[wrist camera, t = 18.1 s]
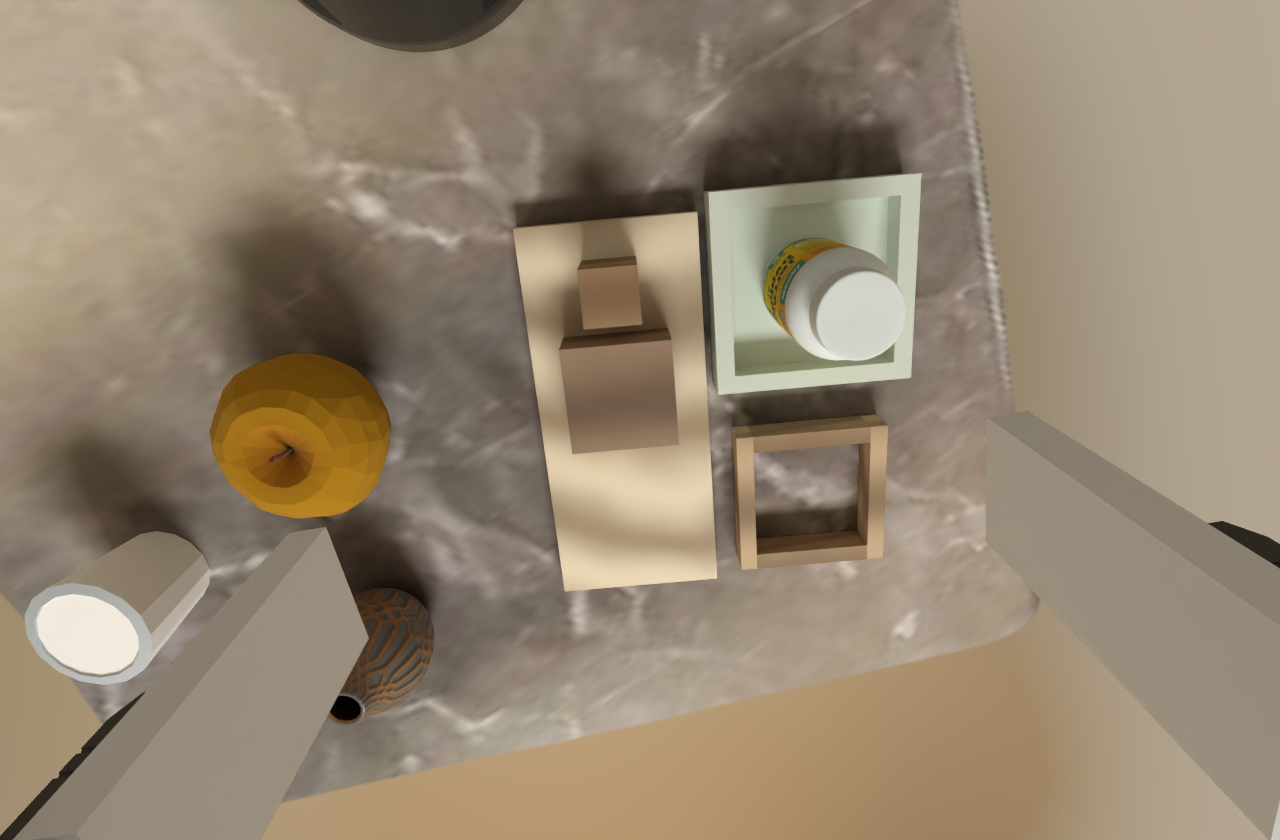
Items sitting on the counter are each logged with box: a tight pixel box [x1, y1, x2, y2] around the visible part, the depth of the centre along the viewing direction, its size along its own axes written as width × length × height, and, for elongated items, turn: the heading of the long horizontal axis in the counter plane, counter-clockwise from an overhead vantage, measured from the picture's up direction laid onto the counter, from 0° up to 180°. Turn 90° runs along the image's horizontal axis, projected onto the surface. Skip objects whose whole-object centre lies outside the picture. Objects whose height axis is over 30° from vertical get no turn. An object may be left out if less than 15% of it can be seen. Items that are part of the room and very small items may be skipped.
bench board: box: [513, 211, 717, 591], centre depth 39 cm, size 23×10×5 cm, turn 5°
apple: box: [210, 353, 391, 518], centre depth 37 cm, size 9×9×9 cm
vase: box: [327, 588, 434, 726], centre depth 42 cm, size 7×7×9 cm
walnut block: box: [559, 328, 679, 454], centre depth 39 cm, size 6×6×3 cm
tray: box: [703, 173, 921, 395], centre depth 38 cm, size 11×11×2 cm
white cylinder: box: [25, 531, 210, 685], centre depth 42 cm, size 7×7×7 cm
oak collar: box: [731, 414, 888, 570], centre depth 43 cm, size 9×9×2 cm
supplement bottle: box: [762, 237, 907, 361], centre depth 34 cm, size 5×5×10 cm
